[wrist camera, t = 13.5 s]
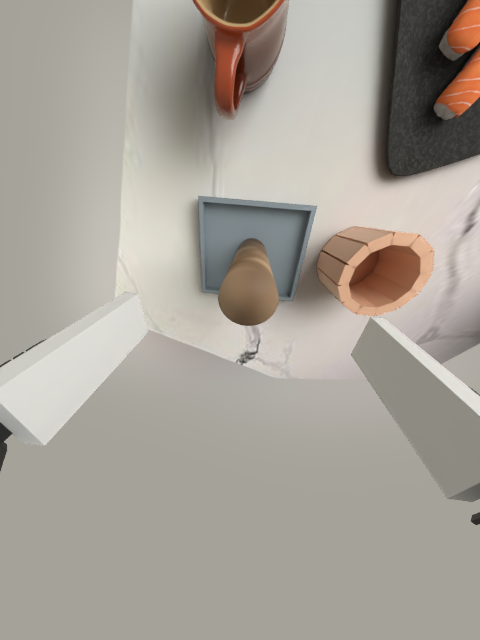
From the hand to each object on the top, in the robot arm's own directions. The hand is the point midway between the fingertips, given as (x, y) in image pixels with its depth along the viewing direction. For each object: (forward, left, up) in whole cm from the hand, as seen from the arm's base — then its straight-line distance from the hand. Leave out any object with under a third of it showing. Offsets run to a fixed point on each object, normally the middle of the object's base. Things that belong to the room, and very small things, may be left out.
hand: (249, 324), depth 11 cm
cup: (-16, 0, -22) cm, 27 cm away
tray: (0, 0, -22) cm, 22 cm away
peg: (0, 0, -21) cm, 21 cm away
